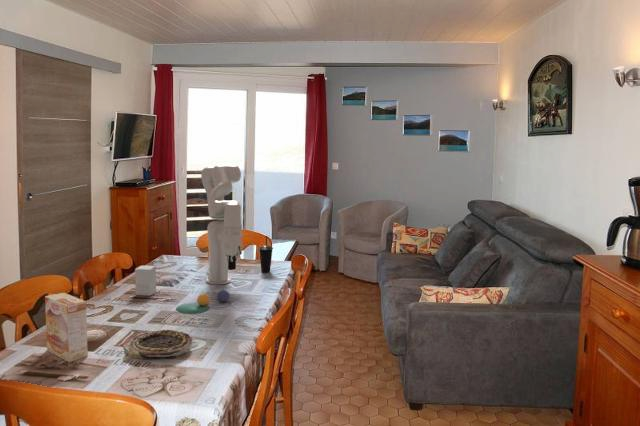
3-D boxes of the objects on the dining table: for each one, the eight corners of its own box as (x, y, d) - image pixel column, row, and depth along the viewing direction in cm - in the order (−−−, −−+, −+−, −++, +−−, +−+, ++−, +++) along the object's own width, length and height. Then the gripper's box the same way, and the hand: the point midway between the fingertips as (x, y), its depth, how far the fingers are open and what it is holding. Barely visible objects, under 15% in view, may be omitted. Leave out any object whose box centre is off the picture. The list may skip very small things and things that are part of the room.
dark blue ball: (224, 288, 253) (221, 299, 253) (216, 288, 248) (213, 299, 249) (233, 292, 250) (229, 303, 250) (225, 292, 245) (221, 304, 246)
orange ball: (205, 302, 247) (195, 305, 244) (204, 290, 246) (194, 294, 242) (212, 305, 244) (202, 308, 240) (211, 293, 243) (201, 296, 239)
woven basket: (172, 331, 213) (172, 319, 212) (218, 352, 196) (218, 338, 195) (104, 352, 191) (104, 339, 191) (149, 377, 174) (149, 362, 173)
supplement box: (156, 291, 262) (156, 265, 261) (150, 296, 255) (149, 269, 253) (141, 290, 263) (141, 265, 261) (135, 295, 256) (134, 268, 254)
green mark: (170, 307, 239) (170, 307, 239) (197, 301, 249) (197, 301, 249) (188, 315, 230) (188, 315, 230) (215, 308, 240) (215, 308, 240)
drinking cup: (266, 274, 301) (266, 238, 298) (255, 271, 305) (256, 236, 302) (275, 271, 307) (276, 236, 304) (265, 269, 311) (265, 234, 309)
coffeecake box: (46, 350, 190) (43, 296, 187) (66, 344, 196) (64, 291, 193) (68, 362, 181) (66, 305, 178) (88, 356, 186) (87, 300, 184)
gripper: (215, 228, 252) (215, 267, 255) (235, 233, 242) (235, 274, 245) (228, 227, 258) (228, 265, 260) (249, 231, 248) (248, 271, 250)
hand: (231, 269), depth 253 cm, fingers closed
